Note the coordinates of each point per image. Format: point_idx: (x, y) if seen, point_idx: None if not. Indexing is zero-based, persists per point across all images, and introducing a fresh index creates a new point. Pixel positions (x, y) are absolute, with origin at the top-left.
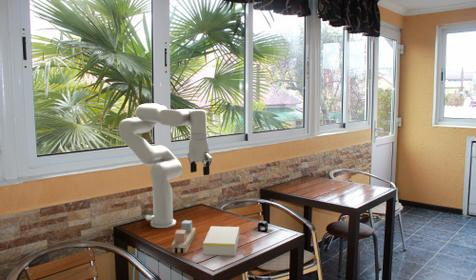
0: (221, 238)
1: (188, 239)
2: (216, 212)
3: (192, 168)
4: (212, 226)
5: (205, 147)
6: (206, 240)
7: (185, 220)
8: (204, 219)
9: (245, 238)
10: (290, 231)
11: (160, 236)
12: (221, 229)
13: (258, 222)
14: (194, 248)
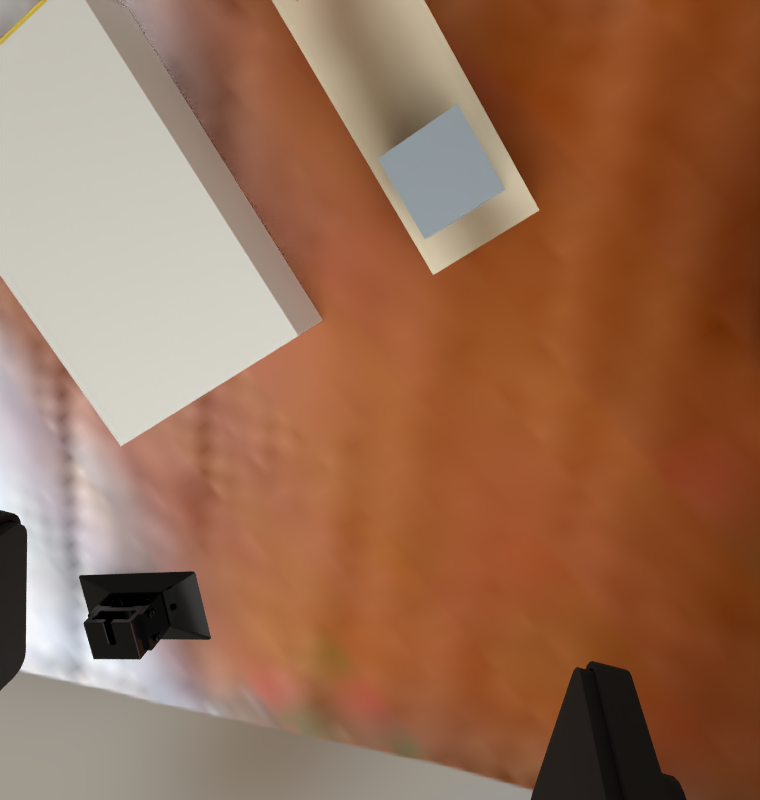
0: (42, 161)
1: (279, 12)
2: None
3: (584, 790)
4: (284, 338)
5: None
6: (92, 42)
7: (485, 199)
8: (624, 593)
9: None
10: None
11: (693, 56)
12: (181, 324)
13: (128, 622)
14: (259, 54)
